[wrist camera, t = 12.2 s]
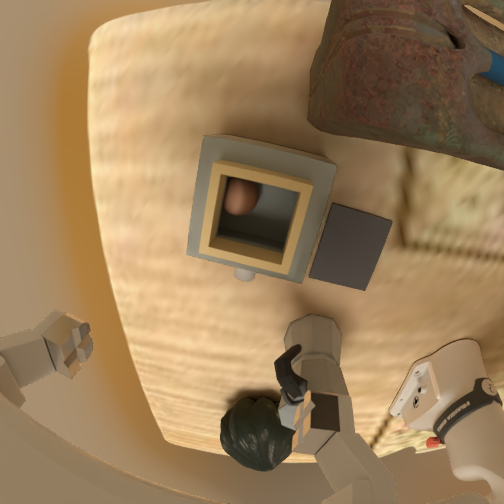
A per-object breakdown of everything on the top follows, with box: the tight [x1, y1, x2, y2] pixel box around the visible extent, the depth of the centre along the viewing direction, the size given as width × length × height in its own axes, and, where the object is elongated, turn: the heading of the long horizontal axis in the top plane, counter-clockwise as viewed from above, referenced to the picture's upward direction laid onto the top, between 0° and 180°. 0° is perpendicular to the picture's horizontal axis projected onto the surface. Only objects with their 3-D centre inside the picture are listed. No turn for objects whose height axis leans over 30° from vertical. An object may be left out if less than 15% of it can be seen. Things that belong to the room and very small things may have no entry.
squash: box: [220, 397, 296, 472], centre depth 45 cm, size 14×15×15 cm
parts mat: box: [309, 203, 392, 291], centre depth 34 cm, size 10×8×1 cm
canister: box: [308, 0, 504, 171], centre depth 16 cm, size 19×8×25 cm, turn 89°
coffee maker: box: [274, 314, 349, 431], centre depth 32 cm, size 15×9×18 cm, turn 33°
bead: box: [222, 176, 259, 216], centre depth 31 cm, size 4×4×4 cm
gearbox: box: [186, 134, 337, 284], centre depth 29 cm, size 15×12×10 cm
